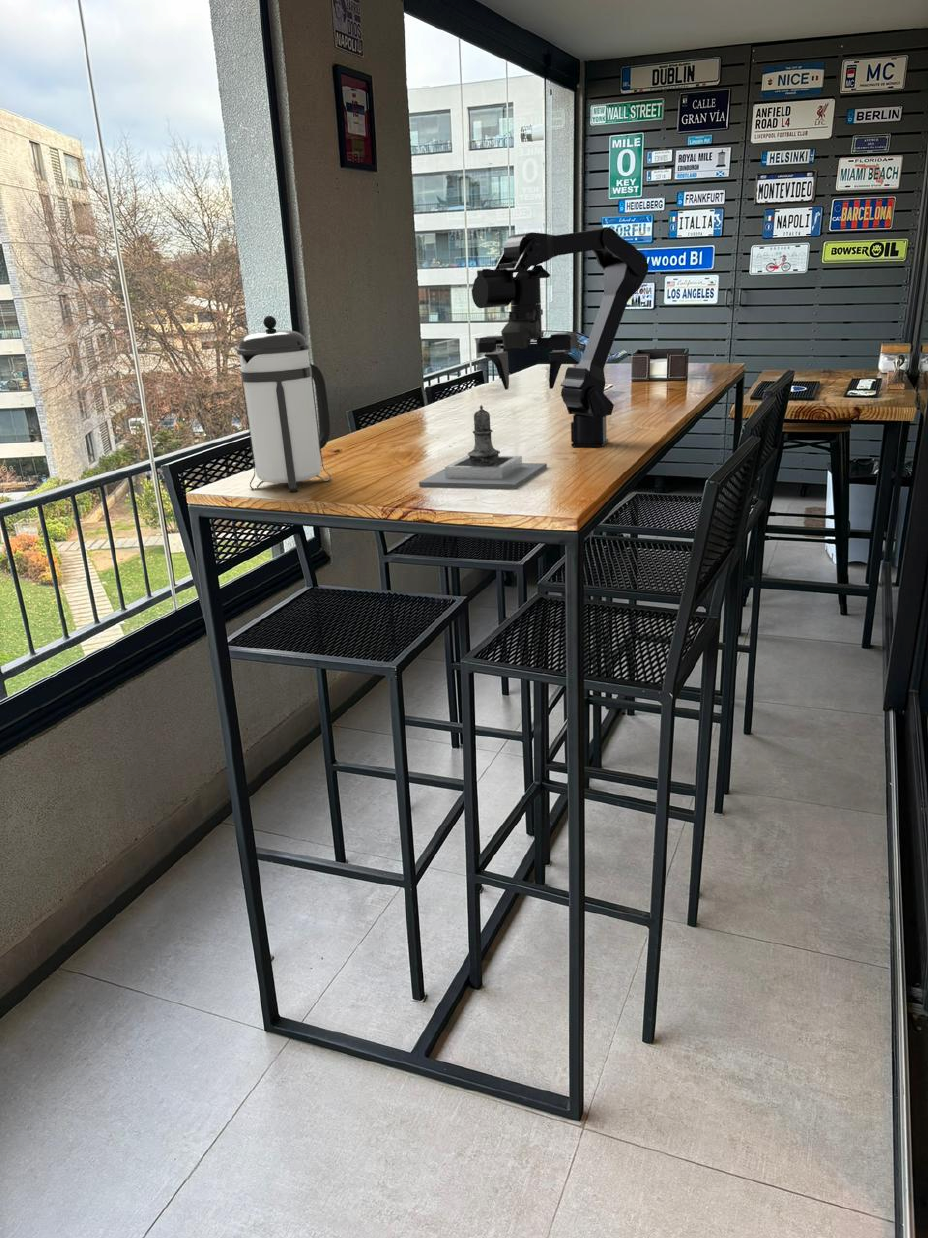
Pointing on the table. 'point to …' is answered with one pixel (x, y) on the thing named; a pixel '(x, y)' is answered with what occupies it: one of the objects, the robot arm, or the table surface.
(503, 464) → the socket collar
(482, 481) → the socket board
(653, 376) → the table surface
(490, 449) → the salt shaker
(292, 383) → the coffee press
